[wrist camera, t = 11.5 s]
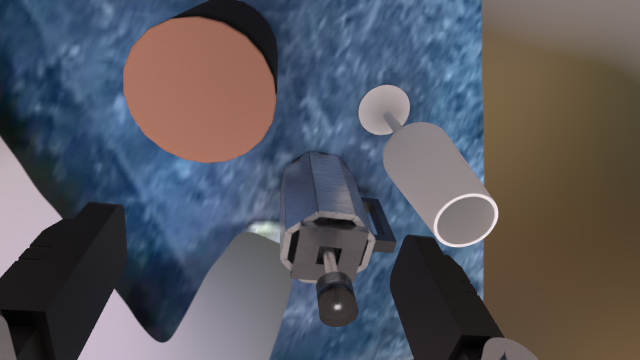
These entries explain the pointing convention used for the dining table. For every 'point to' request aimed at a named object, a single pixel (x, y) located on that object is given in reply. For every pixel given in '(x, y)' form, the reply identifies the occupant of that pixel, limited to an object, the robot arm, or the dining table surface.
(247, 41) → the coffee jar
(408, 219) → the dining table surface
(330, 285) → the plunger
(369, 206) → the press pot
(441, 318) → the robot arm
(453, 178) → the champagne flute
